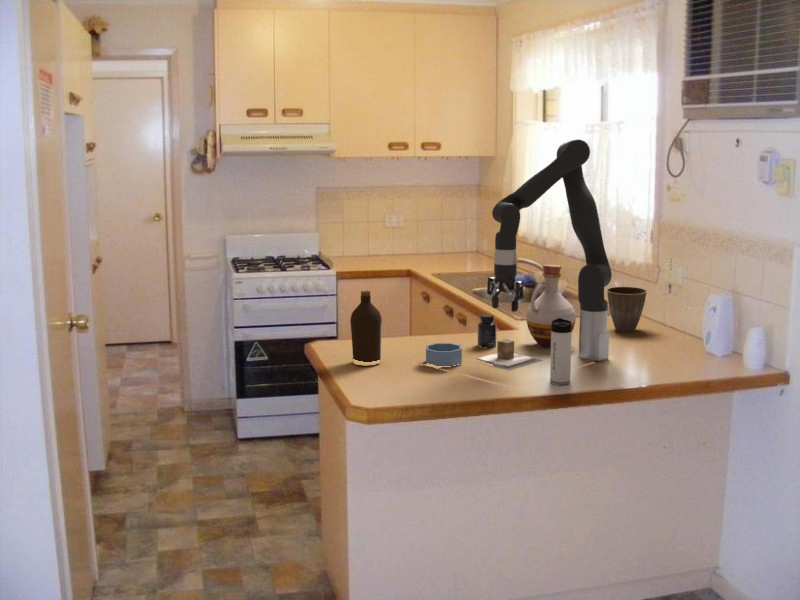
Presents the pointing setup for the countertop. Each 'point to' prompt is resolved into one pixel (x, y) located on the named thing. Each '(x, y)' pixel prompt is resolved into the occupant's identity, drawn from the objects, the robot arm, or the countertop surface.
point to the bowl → (444, 354)
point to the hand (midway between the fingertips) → (504, 309)
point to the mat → (518, 365)
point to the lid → (506, 355)
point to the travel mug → (560, 351)
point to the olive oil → (366, 330)
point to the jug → (548, 307)
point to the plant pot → (626, 307)
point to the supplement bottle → (487, 331)
